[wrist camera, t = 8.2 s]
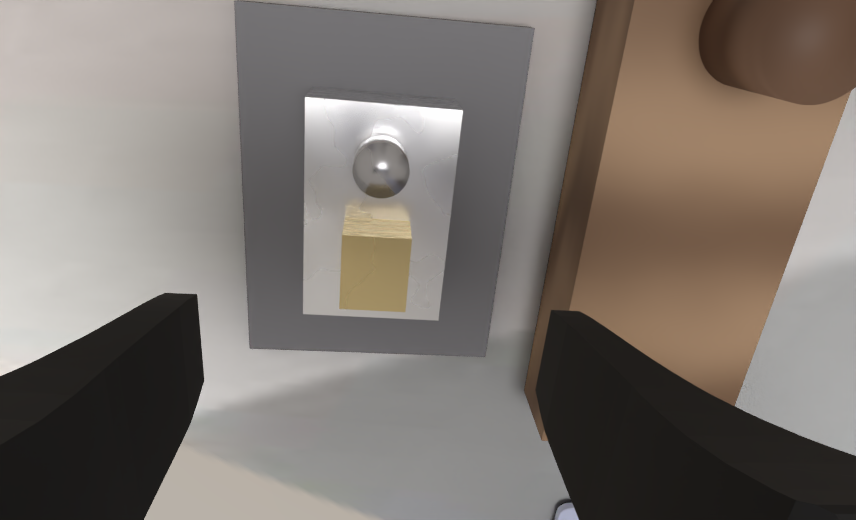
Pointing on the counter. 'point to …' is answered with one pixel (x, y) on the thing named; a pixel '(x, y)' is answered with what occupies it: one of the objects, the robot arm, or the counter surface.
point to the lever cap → (377, 202)
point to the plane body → (694, 174)
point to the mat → (384, 73)
